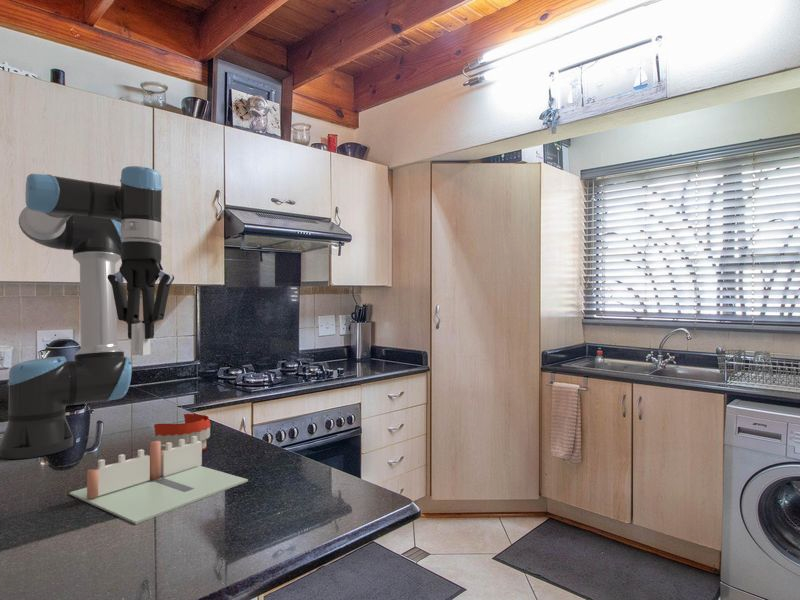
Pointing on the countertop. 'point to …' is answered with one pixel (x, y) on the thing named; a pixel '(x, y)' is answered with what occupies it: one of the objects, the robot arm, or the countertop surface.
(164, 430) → the toy
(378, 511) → the countertop surface
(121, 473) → the swing panel
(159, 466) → the fixed fence
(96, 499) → the card
